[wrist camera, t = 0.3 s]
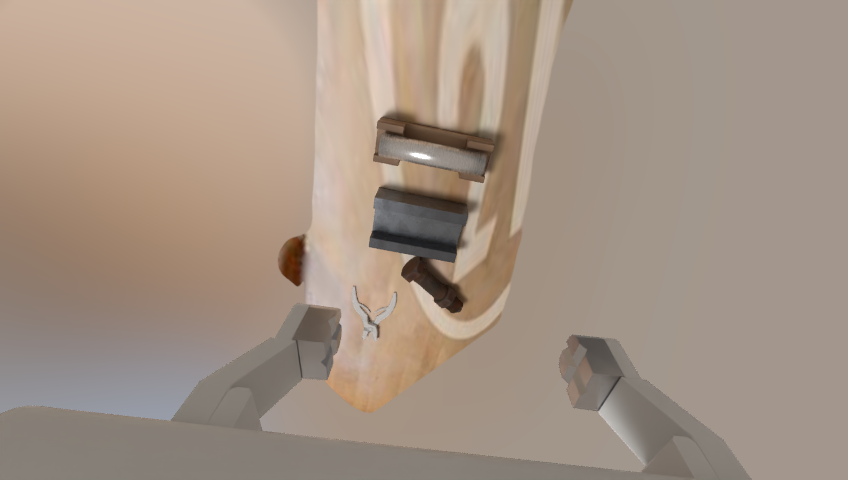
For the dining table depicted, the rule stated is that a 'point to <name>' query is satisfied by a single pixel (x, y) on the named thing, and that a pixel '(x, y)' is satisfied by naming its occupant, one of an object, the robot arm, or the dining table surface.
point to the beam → (433, 141)
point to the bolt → (431, 285)
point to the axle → (431, 154)
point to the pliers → (369, 325)
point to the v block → (417, 225)
